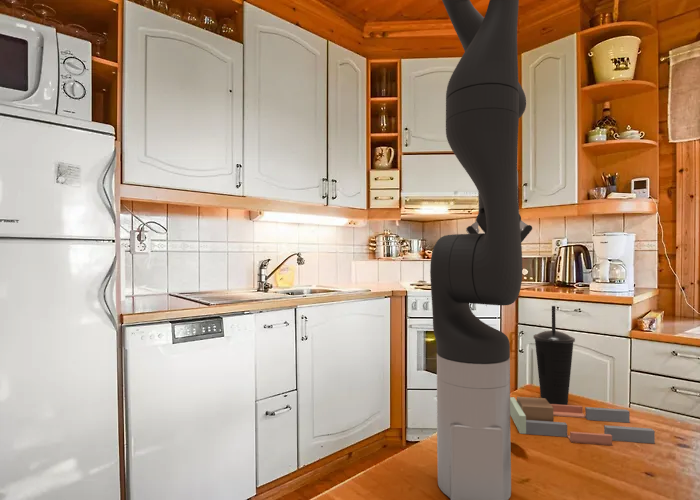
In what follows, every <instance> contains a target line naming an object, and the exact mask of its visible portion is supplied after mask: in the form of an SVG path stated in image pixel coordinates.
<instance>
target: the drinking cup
mask: <svg viewBox="0 0 700 500" xmlns="http://www.w3.org/2000/svg"><path fill="white" fill-rule="evenodd" d="M556 325H557V324H556V306H555V305H551V330H543V331H541V332H538V333H537V334H534V335H533V339H534V343H535V353H536V363H537V373H538V381H539V382H538V383H539V391H540V392H539V394H540V398H545V399H546V400H547V401H548V402H549V403H550V404H559V405H569V403H568V402H569V395H570V394H569V393H570V392H569V391H570V381H571V373H572V371H571V370H572V361H573V350H574V343H575V342H576V338H575V337H573V336H572V335H571V336H570V335H569V334H567V333H565V332H562V331H559V330H556Z"/></svg>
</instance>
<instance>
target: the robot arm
mask: <svg viewBox="0 0 700 500" xmlns="http://www.w3.org/2000/svg"><path fill="white" fill-rule="evenodd" d="M441 2H442V3H443V4H442V5H444V8H445V10H446V11H445V12H446V13H447V15H448V17H449V20H450V21H451V24H452V27H453V29H454V31H455V34H456V35H457V37H458V39H459V41H460V43H461V45H462V49H463V50H464V53H463V54H462V56H461V58H460V59H459V61H458V63H457V64H456V66H455V68H454V70H453V72H452V74H451V76H450V77H449V81H448V83H447V88H446V91H445V135H446V141H447V143H448V145H449V147H450V149H451V150H452V152H453V154H454V155H455V157H456V158H457V161H459V164H460V165H461V166H462V168H463V170H464V171H465V173H467V175H468V176H469V177H470V179H471V180H472V182H473V184H474V186H475V188H476V189H477V191H478V192H477V193H478V198H477V199H478V213H477V215H476V219H475V222H473V223H472V224H471V225H469V226H467V227H466V228H465V231H466V232H467V233H458V234H457V233H456V234H447V235H444V236H442V237H440V238H438V239H437V240H436V242H435V244H434V246H433V248H432V253H431V257H430V265H429V266H430V269H429V272H430V273H429V274H430V275H429V276H430V295H431V310H432V329H433V335H434V337H435V343H436V414H437V415H436V423H437V424H436V428H437V430H436V431H437V432H436V437H437V438H436V441H437V443H436V444H437V446H436V451H437V452H436V453H437V485H438V487H439V489H440V490H441V492H442V493H443V494H444V495H446V496H447V498H449V499H450V500H509V499H511V496H512V462H511V461H512V460H511V459H512V458H511V456H512V455H511V451H512V450H511V415H510V397H511V358H510V357H511V346H510V345H511V344H510V339H509V337H508V336H507V334H505V333H504V332H502V331H500V330H499V329H496V328H494V327H492V326H490V325H489V324H486V323H485V322H484V321H482V320H481V319H480V318H478V317H477V315H475V314H474V313H473V312H472V309H471V306H470V304H475V305H489V306H510V305H513V304H514V303H515V302H516V301H517V299H518V297H519V296H520V293H521V288H522V283H523V252H522V251H523V249H522V248H523V247H522V243H523V242H524V240H525V239H526V238H527V236H529V234H530V232H532V230H533V226H532V225H530V224H529V225H528V224H527V223H526V222H525V221H523V220H522V216H521V213H520V210H519V209H520V208H519V207H520V206H519V172H518V154H519V153H518V152H519V151H518V150H519V145H518V144H519V122H520V118H521V117H522V116H523V115H524V113H525V111H526V108H527V98H526V93H525V91H524V89H523V87H522V85H521V83H520V82H519V63H518V62H519V59H518V22H519V21H518V19H519V6H520V5H519V4H520V1H519V0H489V2H488V5H487V9H486V12H485V15H484V16H483V15H482V14H481V13H480V12H479V11H478V10H477V8H475V6H474V5H473V3H472V1H471V0H441ZM480 229H481V230H482V232H483V233H481V232H480Z"/></svg>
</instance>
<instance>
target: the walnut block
mask: <svg viewBox="0 0 700 500" xmlns="http://www.w3.org/2000/svg"><path fill="white" fill-rule="evenodd" d="M516 401H517V402H518V404H519V406H520V407H521V409H522V411H523V412H524V414H525V415H526V420H535V421H549V422H555V421H554V416H553V407H552V406H551V405H550V403H549V402H548V401H547V400H546V399H545V398H541V397H532V396H531V397H528V396H516Z"/></svg>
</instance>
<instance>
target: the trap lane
mask: <svg viewBox="0 0 700 500" xmlns="http://www.w3.org/2000/svg"><path fill="white" fill-rule="evenodd" d="M550 405H551V406H552V407H553V417H568V418H583V419H586V420H588V421H599V422H615V423H630V422H631V419H630V410H628V409H626V408H625V409H623V408H604V407H591V406H590V407H589V406H585V410H584V409H583V405H574V404H573V405H572V404H568V405H559V404H550ZM583 410H584V411H585V412H584V411H583ZM603 426H604V428H603V433H595V432H581V431H569V432H570V433H569V434H568V424H567V423H566V422H564V421H563V422H561V421H554V422H549V421H535V420H526V434H525V435H535V436H549V437H562V438H563V437H564V438H568V440H569V441H570V442H571V443H574V442H575V443H577V444H588V445H599V446H600V445H601V446H613V441H615V442H616V441H617V442H626V443H627V442H629V443H642V444H654V445H655V444H656V441H655V440H656V439H655V437H656V435H655V433H656V432H655V430H654V429H653V428H648V427H633V426H623V425H622V426H620V425H605V424H604V425H603Z"/></svg>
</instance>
